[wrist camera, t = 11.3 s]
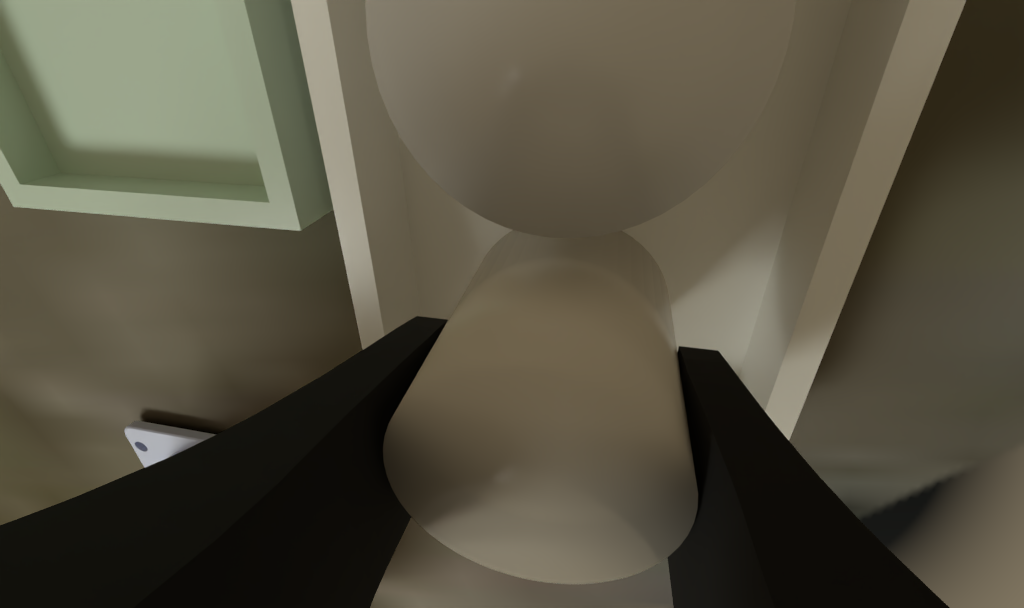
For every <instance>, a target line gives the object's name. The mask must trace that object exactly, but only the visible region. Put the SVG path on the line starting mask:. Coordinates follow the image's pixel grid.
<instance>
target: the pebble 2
mask: <svg viewBox="0 0 1024 608" xmlns="http://www.w3.org/2000/svg"><path fill="white" fill-rule="evenodd" d="M383 459H384V466H385V470H386V474H387V477H388V480H389V482H390V485H391V487H392V489H393V491H394V493H395V495H396V496H397V498H398V500H399V502H400V503H401V504H402V506H403V507H404V508H405V509H406V511H407V512H408V513H409V515H410V516H411V517H412V518H413V519H414V520H415V521H416V522H417V523H418V524H419V525H420V526H421V527H422V528H423V529H424V530H426V531H427V532H428V533H429V534H430V535H431V536H433V537H434V538H435V539H437V540H438V541H439V542H441V543H442V544H444V545H445V546H447V547H448V548H450V549H452V550H453V551H455V552H456V553H458V554H460V555H462V556H464V557H466V558H468V559H470V560H472V561H474V562H476V563H478V564H481V565H483V566H485V567H488V568H490V569H493V570H496V571H499V572H502V573H505V574H508V575H512V576H516V577H520V578H524V579H529V580H534V581H540V582H548V583H557V584H592V583H601V582H608V581H613V580H617V579H622V578H626V577H629V576H632V575H635V574H638V573H640V572H643V571H645V570H647V569H649V568H651V567H653V566H655V565H657V564H658V563H660V562H661V561H663V560H664V559H666V558H667V557H669V556H670V555H671V554H672V553H673V552H674V551H675V550H676V549H677V548H678V547H679V546H680V545H681V544H682V542H683V541H684V540H685V538H686V537H687V536H688V534H689V532H690V530H691V528H692V526H693V524H694V521H695V517H696V513H697V509H698V489H697V483H696V476H695V469H694V462H693V455H692V448H691V441H690V435H689V428H688V421H687V414H686V408H685V401H684V394H683V388H682V381H681V374H680V367H679V360H678V353H677V346H676V339H675V332H674V325H673V318H672V312H671V305H670V298H669V292H668V287H667V284H666V281H665V278H664V275H663V273H662V271H661V269H660V267H659V265H658V264H657V263H656V261H655V260H654V258H653V257H652V256H651V254H650V253H649V252H648V251H647V250H646V249H645V248H644V247H643V246H642V245H641V244H640V243H639V242H637V241H636V240H635V239H634V238H632V237H631V236H630V235H628V234H626V233H625V232H623V231H619V232H615V233H610V234H605V235H600V236H595V237H583V238H550V237H543V236H537V235H531V234H526V233H523V232H519V231H516V230H512V231H510V232H509V233H508V234H506V235H505V236H503V237H502V238H501V239H500V240H499V241H498V242H497V243H496V244H494V245H493V247H492V248H491V249H490V250H489V252H488V253H487V254H486V255H485V257H484V259H483V261H482V262H481V264H480V266H479V268H478V269H477V271H476V273H475V275H474V276H473V278H472V280H471V281H470V283H469V285H468V287H467V288H466V290H465V292H464V294H463V295H462V297H461V299H460V300H459V302H458V304H457V306H456V307H455V309H454V311H453V313H452V314H451V316H450V318H449V320H448V321H447V323H446V325H445V326H444V328H443V330H442V332H441V333H440V335H439V337H438V339H437V340H436V342H435V344H434V346H433V347H432V349H431V351H430V352H429V354H428V356H427V358H426V359H425V361H424V363H423V365H422V366H421V368H420V370H419V371H418V373H417V375H416V377H415V378H414V380H413V382H412V384H411V385H410V387H409V389H408V391H407V392H406V394H405V396H404V397H403V399H402V401H401V403H400V404H399V406H398V408H397V410H396V411H395V413H394V415H393V417H392V418H391V420H390V422H389V424H388V427H387V430H386V433H385V436H384V444H383Z"/></svg>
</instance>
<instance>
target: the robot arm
mask: <svg viewBox="0 0 1024 608" xmlns="http://www.w3.org/2000/svg"><path fill="white" fill-rule="evenodd" d="M447 321H448V320H447V319H439V318H430V317H421V316H416V317H414V318H413V319H411V320H409V321H407V322H406V323H404V324H402V325H401V326H399V327H398V328H396V329H394V330H393V331H391V332H390V333H388V334H387V335H385V336H384V337H382V338H381V339H379V340H377V341H376V342H374V343H373V344H371V345H370V346H368V347H367V348H365V349H364V350H362V351H361V352H359V353H357V354H356V355H354V356H353V357H351V358H349V359H348V360H346V361H345V362H343V363H342V364H340V365H338V366H337V367H335V368H334V369H332V370H331V371H329V372H327V373H326V374H324V375H323V376H321V377H319V378H318V379H316V380H314V381H313V382H311V383H309V384H307V385H306V386H304V387H302V388H300V389H299V390H297V391H295V392H294V393H292V394H290V395H288V396H287V397H285V398H283V399H282V400H280V401H278V402H276V403H275V404H273V405H271V406H270V407H268V408H266V409H264V410H263V411H261V412H259V413H257V414H255V415H253V416H252V417H250V418H248V419H246V420H244V421H242V422H240V423H238V424H236V425H234V426H233V427H231V428H229V429H227V430H225V431H223V432H221V433H219V434H211V433H205V432H200V431H194V430H188V429H183V428H177V427H172V426H166V425H160V424H155V423H149V422H143V421H134V422H132V423H131V424H130V425H128V426H127V427H126V428H125V434H126V436H127V438H128V440H129V442H130V443H131V445H132V447H133V449H134V450H135V452H136V454H137V455H138V457H139V459H140V461H141V462H142V464H143V466H144V467H145V468H143V469H141V470H138V471H136V472H134V473H131V474H129V475H126V476H124V477H122V478H119V479H117V480H115V481H112V482H110V483H108V484H105V485H103V486H101V487H98V488H96V489H94V490H91V491H89V492H86V493H84V494H82V495H79V496H77V497H74V498H72V499H69V500H67V501H64V502H62V503H59V504H56V505H54V506H51V507H48V508H46V509H43V510H40V511H38V512H35V513H33V514H30V515H27V516H25V517H22V518H19V519H17V520H14V521H11V522H9V523H6V524H3V525H0V608H370V606H371V603H372V601H373V598H374V596H375V593H376V591H377V589H378V586H379V584H380V582H381V579H382V577H383V575H384V573H385V570H386V568H387V566H388V564H389V562H390V560H391V558H392V556H393V554H394V551H395V549H396V547H397V545H398V543H399V541H400V539H401V537H402V535H403V533H404V531H405V529H406V526H407V524H408V522H409V520H410V518H411V516H410V515H409V513H408V512H407V511H406V509H405V508H404V507H403V506H402V504H401V503H400V502H399V500H398V498H397V496H396V495H395V493H394V491H393V489H392V487H391V485H390V482H389V480H388V477H387V474H386V470H385V466H384V459H383V444H384V436H385V433H386V430H387V427H388V424H389V422H390V420H391V418H392V417H393V415H394V413H395V411H396V410H397V408H398V406H399V404H400V403H401V401H402V399H403V397H404V396H405V394H406V392H407V391H408V389H409V387H410V385H411V384H412V382H413V380H414V378H415V377H416V375H417V373H418V371H419V370H420V368H421V366H422V365H423V363H424V361H425V359H426V358H427V356H428V354H429V352H430V351H431V349H432V347H433V346H434V344H435V342H436V340H437V339H438V337H439V335H440V333H441V332H442V330H443V328H444V326H445V325H446V323H447ZM677 353H678V360H679V367H680V374H681V381H682V388H683V394H684V401H685V408H686V414H687V421H688V428H689V435H690V441H691V448H692V455H693V462H694V469H695V476H696V483H697V489H698V509H697V513H696V517H695V521H694V524H693V526H692V528H691V530H690V532H689V534H688V536H687V537H686V538H685V540H684V541H683V542H682V544H681V545H680V546H679V547H678V548H677V549H676V550H675V551H674V552H673V553H672V554H671V555H670V556H669V557H668V563H669V572H670V580H671V588H672V597H673V605H674V608H949V607H948V606H947V605H946V604H945V603H944V602H943V601H942V600H941V599H940V598H939V597H938V596H936V595H935V594H934V593H933V592H932V591H931V590H930V589H929V588H928V587H927V586H926V585H925V584H924V583H923V582H922V581H921V580H920V579H919V578H918V577H917V576H916V575H915V574H914V573H913V572H911V571H910V570H909V569H908V568H907V567H906V566H905V565H904V564H903V563H902V562H901V561H900V560H899V559H898V558H897V557H896V556H895V555H894V554H893V553H892V552H891V551H889V550H888V549H887V547H885V546H884V545H883V544H882V543H881V542H880V541H879V540H878V538H876V536H875V535H874V534H873V533H872V532H871V531H869V529H867V527H866V526H865V525H864V524H863V523H862V522H861V521H860V520H859V519H858V518H857V517H856V516H855V515H854V514H853V513H852V512H851V511H850V509H849V508H848V507H847V506H846V505H845V504H844V503H843V502H842V501H841V500H840V499H839V498H838V496H837V495H836V494H835V493H834V492H833V491H832V490H831V489H830V488H829V487H828V486H827V485H826V483H825V482H824V481H823V480H822V479H821V478H820V477H819V476H818V475H817V474H816V472H815V471H814V470H813V469H812V468H811V467H810V466H809V464H808V463H807V462H806V461H805V460H804V459H803V457H802V456H801V455H800V454H799V453H798V451H797V450H796V449H795V448H794V446H793V445H792V444H791V443H790V442H789V440H788V439H787V438H786V437H785V436H784V434H783V433H782V432H781V431H780V430H779V428H778V427H777V426H776V425H775V424H774V422H773V421H772V420H771V419H770V417H769V416H768V415H767V413H766V412H765V411H764V410H763V408H762V407H761V406H760V404H759V403H758V402H757V401H756V399H755V398H754V397H753V395H752V394H751V393H750V392H749V390H748V389H747V388H746V386H745V385H744V384H743V382H742V381H741V380H740V378H739V377H738V376H737V374H736V373H735V372H734V370H733V369H732V368H731V366H730V365H729V364H728V362H727V361H726V360H725V359H724V357H723V356H722V355H721V353H720V352H719V351H718V350H709V349H700V348H691V347H683V346H679V348H678V352H677Z"/></svg>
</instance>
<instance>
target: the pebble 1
mask: <svg viewBox="0 0 1024 608" xmlns="http://www.w3.org/2000/svg"><path fill="white" fill-rule="evenodd" d="M795 3H796V0H366V1H365V10H366V26H367V38H368V44H369V50H370V56H371V62H372V66H373V70H374V73H375V77H376V81H377V84H378V88H379V91H380V94H381V96H382V99H383V101H384V104H385V106H386V109H387V111H388V114H389V116H390V118H391V120H392V122H393V124H394V126H395V128H396V130H397V132H398V134H399V135H400V137H401V139H402V141H403V142H404V144H405V145H406V147H407V148H408V150H409V151H410V153H411V154H412V156H413V157H414V158H415V160H416V161H417V162H418V163H419V165H420V166H421V167H422V168H423V169H424V170H425V172H426V173H427V174H428V175H429V176H430V178H431V179H433V180H434V181H435V182H436V183H437V184H438V185H439V186H440V187H441V188H442V189H443V190H444V191H445V192H446V193H447V194H449V195H450V196H451V197H453V198H454V199H455V200H457V201H458V202H459V203H461V204H462V205H463V206H465V207H466V208H468V209H469V210H471V211H473V212H475V213H476V214H478V215H480V216H481V217H483V218H485V219H487V220H489V221H492V222H494V223H496V224H499V225H501V226H503V227H506V228H509V229H512V230H516V231H519V232H523V233H526V234H531V235H537V236H543V237H550V238H583V237H595V236H600V235H605V234H610V233H615V232H619V231H622V230H625V229H628V228H631V227H634V226H637V225H640V224H642V223H644V222H646V221H649V220H651V219H653V218H655V217H657V216H659V215H661V214H663V213H665V212H667V211H668V210H670V209H671V208H673V207H675V206H676V205H678V204H679V203H681V202H683V201H684V200H686V199H687V198H688V197H689V196H691V195H692V194H693V193H695V192H696V191H697V190H698V189H700V188H701V187H702V186H703V185H705V184H706V183H707V182H708V181H709V180H710V179H711V178H712V177H713V176H714V175H715V174H716V173H717V172H718V171H719V170H720V169H721V168H722V167H723V166H724V165H725V164H726V163H727V162H728V160H729V159H730V158H731V157H732V155H733V154H734V153H735V152H736V150H737V149H738V148H739V147H740V145H741V144H742V143H743V142H744V140H745V139H746V137H747V136H748V134H749V133H750V131H751V129H752V128H753V126H754V125H755V123H756V121H757V120H758V118H759V117H760V115H761V113H762V111H763V109H764V107H765V105H766V103H767V101H768V99H769V97H770V95H771V93H772V90H773V88H774V86H775V84H776V81H777V79H778V76H779V73H780V70H781V67H782V64H783V61H784V58H785V55H786V52H787V48H788V44H789V39H790V34H791V30H792V25H793V21H794V14H795Z"/></svg>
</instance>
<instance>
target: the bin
mask: <svg viewBox="0 0 1024 608" xmlns="http://www.w3.org/2000/svg"><path fill="white" fill-rule="evenodd" d="M365 1H366V0H291V4H292V9H293V14H294V19H295V23H296V28H297V33H298V38H299V43H300V48H301V53H302V58H303V62H304V67H305V72H306V77H307V82H308V87H309V92H310V96H311V101H312V106H313V111H314V116H315V121H316V126H317V131H318V135H319V140H320V145H321V150H322V155H323V160H324V165H325V170H326V174H327V179H328V184H329V189H330V194H331V199H332V204H333V209H334V213H335V218H336V223H337V228H338V233H339V238H340V243H341V248H342V252H343V257H344V262H345V267H346V272H347V277H348V282H349V287H350V291H351V296H352V301H353V306H354V311H355V316H356V321H357V326H358V330H359V335H360V340H361V345H362V350H364V349H365V348H367V347H368V346H370V345H371V344H373V343H374V342H376V341H377V340H379V339H381V338H382V337H384V336H385V335H387V334H388V333H390V332H391V331H393V330H394V329H396V328H398V327H399V326H401V325H402V324H404V323H406V322H407V321H409V320H411V319H413V318H414V317H416V316H421V317H430V318H439V319H447V320H449V318H450V316H451V314H452V313H453V311H454V309H455V307H456V306H457V304H458V302H459V300H460V299H461V297H462V295H463V294H464V292H465V290H466V288H467V287H468V285H469V283H470V281H471V280H472V278H473V276H474V275H475V273H476V271H477V269H478V268H479V266H480V264H481V262H482V261H483V259H484V257H485V255H486V254H487V253H488V252H489V250H490V249H491V248H492V247H493V245H494V244H496V243H497V242H498V241H499V240H500V239H501V238H502V237H503V236H505V235H506V234H508V233H509V232H510V231H512V229H509V228H506V227H503V226H501V225H499V224H496V223H494V222H492V221H489V220H487V219H485V218H483V217H481V216H480V215H478V214H476V213H475V212H473V211H471V210H469V209H468V208H466V207H465V206H463V205H462V204H461V203H459V202H458V201H457V200H455V199H454V198H453V197H451V196H450V195H449V194H447V193H446V192H445V191H444V190H443V189H442V188H441V187H440V186H439V185H438V184H437V183H436V182H435V181H434V180H433V179H431V178H430V176H429V175H428V174H427V173H426V172H425V170H424V169H423V168H422V167H421V166H420V165H419V163H418V162H417V161H416V160H415V158H414V157H413V156H412V154H411V153H410V151H409V150H408V148H407V147H406V145H405V144H404V142H403V141H402V139H401V137H400V135H399V134H398V132H397V130H396V128H395V126H394V124H393V122H392V120H391V118H390V116H389V114H388V111H387V109H386V106H385V104H384V101H383V99H382V96H381V94H380V91H379V88H378V84H377V81H376V77H375V73H374V70H373V66H372V62H371V56H370V50H369V44H368V38H367V26H366V10H365ZM965 2H966V0H796V3H795V14H794V21H793V25H792V30H791V34H790V39H789V44H788V48H787V52H786V55H785V58H784V61H783V64H782V67H781V70H780V73H779V76H778V79H777V81H776V84H775V86H774V88H773V90H772V93H771V95H770V97H769V99H768V101H767V103H766V105H765V107H764V109H763V111H762V113H761V115H760V117H759V118H758V120H757V121H756V123H755V125H754V126H753V128H752V129H751V131H750V133H749V134H748V136H747V137H746V139H745V140H744V142H743V143H742V144H741V145H740V147H739V148H738V149H737V150H736V152H735V153H734V154H733V155H732V157H731V158H730V159H729V160H728V162H727V163H726V164H725V165H724V166H723V167H722V168H721V169H720V170H719V171H718V172H717V173H716V174H715V175H714V176H713V177H712V178H711V179H710V180H709V181H708V182H707V183H706V184H705V185H703V186H702V187H701V188H700V189H698V190H697V191H696V192H695V193H693V194H692V195H691V196H689V197H688V198H687V199H686V200H684V201H683V202H681V203H679V204H678V205H676V206H675V207H673V208H671V209H670V210H668V211H667V212H665V213H663V214H661V215H659V216H657V217H655V218H653V219H651V220H649V221H646V222H644V223H642V224H640V225H637V226H634V227H631V228H628V229H625V230H622V231H623V232H625V233H626V234H628V235H630V236H631V237H632V238H634V239H635V240H636V241H637V242H639V243H640V244H641V245H642V246H643V247H644V248H645V249H646V250H647V251H648V252H649V253H650V254H651V256H652V257H653V258H654V260H655V261H656V263H657V264H658V265H659V267H660V269H661V271H662V273H663V275H664V278H665V281H666V284H667V287H668V292H669V298H670V305H671V312H672V318H673V325H674V332H675V339H676V346H677V352H678V348H679V346H683V347H691V348H700V349H709V350H718V351H719V352H720V353H721V355H722V356H723V357H724V359H725V360H726V361H727V362H728V364H729V365H730V366H731V368H732V369H733V370H734V372H735V373H736V374H737V376H738V377H739V378H740V380H741V381H742V382H743V384H744V385H745V386H746V388H747V389H748V390H749V392H750V393H751V394H752V395H753V397H754V398H755V399H756V401H757V402H758V403H759V404H760V406H761V407H762V408H763V410H764V411H765V412H766V413H767V415H768V416H769V417H770V419H771V420H772V421H773V422H774V424H775V425H776V426H777V427H778V428H779V430H780V431H781V432H782V433H783V434H784V436H785V437H786V438H787V439H788V440H789V439H790V437H791V434H792V432H793V429H794V427H795V424H796V422H797V420H798V417H799V415H800V412H801V410H802V407H803V405H804V402H805V400H806V397H807V395H808V392H809V390H810V387H811V385H812V382H813V380H814V377H815V375H816V372H817V370H818V367H819V365H820V362H821V360H822V357H823V355H824V352H825V350H826V348H827V345H828V343H829V340H830V338H831V335H832V333H833V330H834V328H835V325H836V323H837V320H838V318H839V315H840V313H841V310H842V308H843V305H844V303H845V300H846V298H847V295H848V293H849V290H850V288H851V285H852V283H853V280H854V278H855V275H856V273H857V271H858V268H859V266H860V263H861V261H862V258H863V256H864V253H865V251H866V248H867V246H868V243H869V241H870V238H871V236H872V233H873V231H874V228H875V226H876V223H877V221H878V218H879V216H880V213H881V211H882V208H883V206H884V203H885V201H886V199H887V196H888V194H889V191H890V189H891V186H892V184H893V181H894V179H895V176H896V174H897V171H898V169H899V166H900V164H901V161H902V159H903V156H904V154H905V151H906V149H907V146H908V144H909V141H910V139H911V136H912V134H913V131H914V129H915V127H916V124H917V122H918V119H919V117H920V114H921V112H922V109H923V107H924V104H925V102H926V99H927V97H928V94H929V92H930V89H931V87H932V84H933V82H934V79H935V77H936V74H937V72H938V69H939V67H940V64H941V62H942V59H943V57H944V55H945V52H946V50H947V47H948V45H949V42H950V40H951V37H952V35H953V32H954V30H955V27H956V25H957V22H958V20H959V17H960V15H961V12H962V10H963V7H964V5H965Z"/></svg>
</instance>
